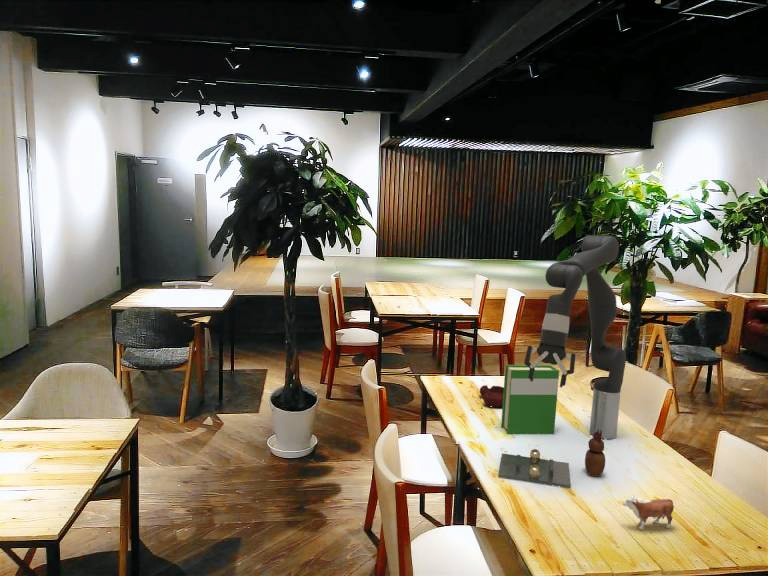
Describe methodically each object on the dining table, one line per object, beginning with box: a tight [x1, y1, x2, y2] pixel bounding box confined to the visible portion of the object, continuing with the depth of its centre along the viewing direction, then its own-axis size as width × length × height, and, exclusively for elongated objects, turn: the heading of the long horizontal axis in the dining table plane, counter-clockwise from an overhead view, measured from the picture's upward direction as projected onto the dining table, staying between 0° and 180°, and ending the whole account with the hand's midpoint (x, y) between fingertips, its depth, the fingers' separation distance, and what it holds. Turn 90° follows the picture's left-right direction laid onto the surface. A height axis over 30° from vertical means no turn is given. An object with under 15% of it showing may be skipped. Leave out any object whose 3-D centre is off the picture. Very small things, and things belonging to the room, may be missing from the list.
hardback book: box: [500, 364, 560, 435], centre depth 212 cm, size 18×7×24 cm, turn 96°
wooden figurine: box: [584, 429, 606, 477], centre depth 178 cm, size 7×6×15 cm
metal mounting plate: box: [497, 448, 572, 489], centre depth 179 cm, size 16×21×4 cm
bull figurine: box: [622, 495, 675, 531], centre depth 149 cm, size 4×13×8 cm, turn 95°
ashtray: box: [479, 384, 504, 408], centre depth 244 cm, size 18×16×5 cm
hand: (546, 384), depth 170 cm, fingers open, 8 cm apart
